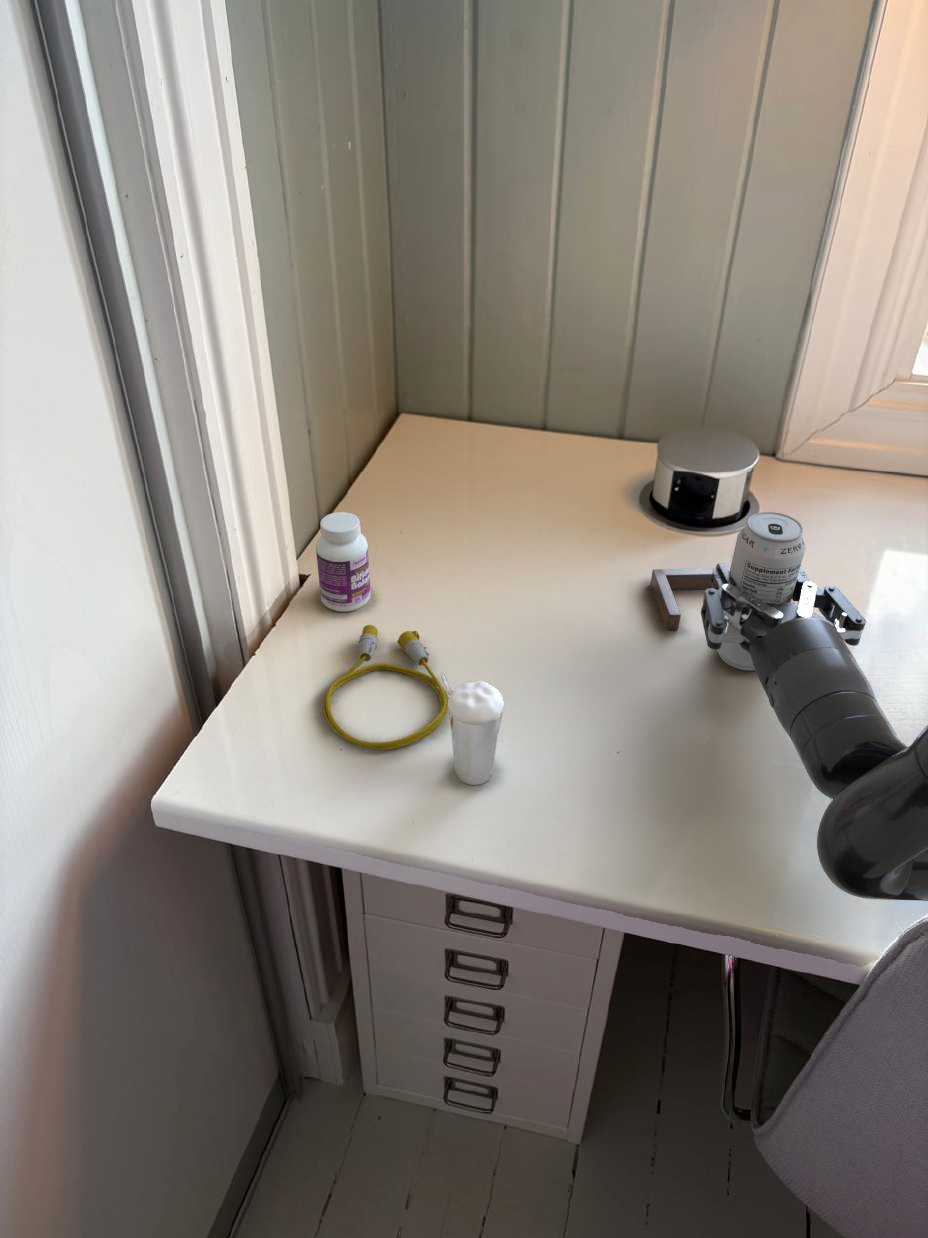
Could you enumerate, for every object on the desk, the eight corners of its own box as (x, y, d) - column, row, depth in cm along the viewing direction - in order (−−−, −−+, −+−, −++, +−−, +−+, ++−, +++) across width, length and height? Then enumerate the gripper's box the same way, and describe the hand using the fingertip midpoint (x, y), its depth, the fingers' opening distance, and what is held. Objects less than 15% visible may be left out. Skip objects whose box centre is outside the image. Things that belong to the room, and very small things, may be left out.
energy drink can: (771, 639, 94) (805, 511, 85) (777, 677, 90) (814, 546, 81) (711, 632, 95) (738, 505, 86) (713, 670, 90) (743, 539, 81)
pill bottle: (363, 616, 97) (358, 538, 91) (314, 610, 98) (306, 533, 92) (376, 586, 101) (372, 510, 95) (329, 581, 102) (322, 505, 96)
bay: (650, 584, 102) (652, 569, 101) (769, 581, 103) (773, 566, 102) (666, 630, 96) (669, 615, 95) (794, 627, 96) (798, 611, 95)
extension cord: (480, 659, 92) (481, 644, 90) (415, 769, 80) (415, 752, 79) (370, 630, 95) (369, 614, 94) (292, 730, 84) (290, 714, 82)
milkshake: (453, 743, 83) (454, 657, 77) (508, 762, 81) (513, 676, 75) (430, 777, 79) (428, 690, 73) (486, 798, 78) (490, 711, 71)
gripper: (914, 647, 74) (835, 535, 87) (736, 652, 73) (684, 538, 87) (887, 716, 79) (816, 599, 92) (720, 722, 78) (672, 603, 91)
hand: (752, 570), depth 89 cm, fingers closed on energy drink can, 6 cm apart
